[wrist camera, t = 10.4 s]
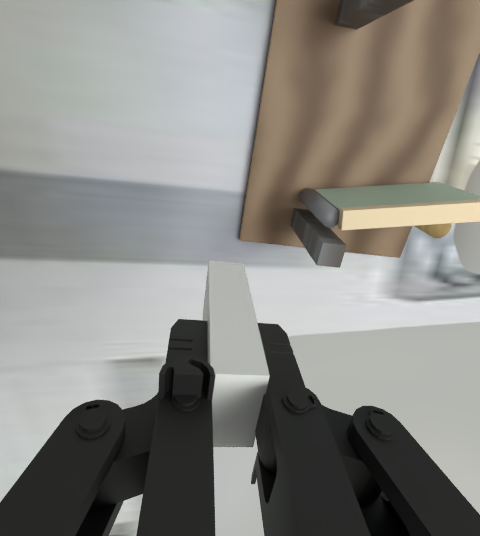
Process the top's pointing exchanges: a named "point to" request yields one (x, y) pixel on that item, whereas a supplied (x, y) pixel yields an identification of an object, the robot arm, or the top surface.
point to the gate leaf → (391, 205)
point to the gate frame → (354, 112)
